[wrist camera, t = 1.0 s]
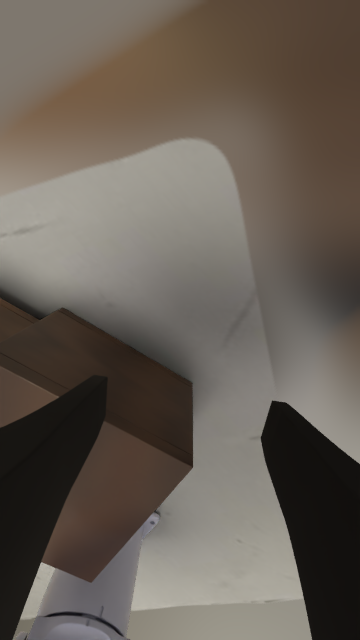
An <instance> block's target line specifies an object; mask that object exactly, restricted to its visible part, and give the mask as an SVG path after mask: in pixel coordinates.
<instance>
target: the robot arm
mask: <svg viewBox="0 0 360 640" xmlns="http://www.w3.org/2000/svg"><path fill="white" fill-rule="evenodd" d="M107 383H108V377H106V376H99V375H93V376H91V377H90V378H88V379H86V380H85V381H83V382H82V383H80V384H79V385H77V386H76V387H74V388H73V389H71V390H70V391H68V392H67V393H65V394H63V395H62V396H60V397H59V398H57V399H55V400H54V401H52V402H50V403H48V404H47V405H45V406H43V407H41V408H40V409H38V410H36V411H34V412H32V413H30V414H29V415H27V416H25V417H23V418H21V419H18V420H16V421H14V422H12V423H10V424H8V425H6V426H3V427H1V428H0V640H26V638H27V634H28V633H26V632H20V633H19V634H18V635H17V637H15V638H14V639H13V636H14V634H15V631H16V628H17V625H18V623H19V620H20V617H21V614H22V612H23V609H24V606H25V603H26V601H27V598H28V595H29V593H30V590H31V587H32V585H33V582H34V579H35V577H36V574H37V571H38V569H39V566H40V563H41V561H42V558H43V556H44V553H45V551H46V548H47V546H48V543H49V541H50V538H51V535H52V533H53V530H54V528H55V526H56V523H57V521H58V518H59V516H60V513H61V511H62V508H63V506H64V503H65V501H66V499H67V497H68V495H69V493H70V490H71V488H72V486H73V484H74V483H75V481H76V479H77V477H78V475H79V473H80V471H81V469H82V467H83V465H84V463H85V461H86V459H87V457H88V455H89V453H90V451H91V450H92V448H93V446H94V444H95V442H96V440H97V438H98V435H99V432H100V430H101V427H102V424H103V422H104V419H105V416H106V401H107ZM261 442H262V447H263V453H264V457H265V462H266V465H267V468H268V471H269V474H270V477H271V480H272V483H273V486H274V489H275V492H276V495H277V498H278V501H279V504H280V507H281V510H282V513H283V516H284V519H285V522H286V525H287V528H288V532H289V536H290V540H291V544H292V548H293V552H294V556H295V560H296V564H297V569H298V573H299V578H300V582H301V587H302V591H303V596H304V600H305V605H306V610H307V616H308V621H309V625H310V631H311V636H312V640H360V464H359V463H358V462H356V461H355V460H354V459H352V458H351V457H350V456H348V455H347V454H346V453H345V452H344V451H342V450H341V449H340V448H338V447H337V446H336V445H335V444H334V443H332V442H331V441H330V440H329V439H328V438H327V437H325V436H324V435H323V434H322V433H321V432H320V431H318V430H317V429H316V428H315V427H314V426H312V424H311V423H309V422H308V421H307V420H306V419H305V418H304V417H303V416H302V415H300V414H299V413H298V412H297V411H296V410H295V409H293V408H292V407H291V406H290V405H289V404H287V403H285V402H278V401H272V403H271V406H270V409H269V413H268V416H267V419H266V422H265V426H264V429H263V432H262V436H261ZM159 519H160V516H159V515H158V514H156V513H154V512H153V514H152V515H151V516H150V517H149V518H148V519H147V520H146V521H145V523H144V524H143V525H142V526H141V527H140V528H139V529H138V531H137V532H136V533H135V534H134V535H133V536H132V537H131V539H130V540H129V541H128V542H127V543H126V544H125V545H124V546H123V548H122V549H121V550H120V551H119V552H118V553H117V554H116V556H115V557H114V558H113V559H112V560H111V561H110V562H109V563H108V565H107V566H106V567H105V568H104V569H103V570H102V571H101V573H100V574H99V575H98V576H97V577H96V578H95V579H94V581H93V582H92V583H90V582H88V581H85V580H83V579H80V578H78V577H76V576H73V575H71V574H69V573H66V572H64V571H62V570H59V569H57V568H55V570H54V572H53V575H52V577H51V580H50V582H49V585H48V587H47V589H46V592H45V594H44V597H43V599H42V602H41V604H40V607H39V610H38V614H37V616H36V618H35V621H34V623H33V626H32V628H31V631H30V633H29V636H28V638H27V640H130V639H127V638H126V635H127V629H128V623H129V617H130V611H131V604H132V598H133V592H134V586H135V580H136V573H137V567H138V561H139V555H140V549H141V543H142V539H143V538H144V537H145V536H146V535H147V534H148V533H149V532H150V531H151V530H152V528H153V527H154V526H155V525H156V524H157V523H158V522H159Z"/></svg>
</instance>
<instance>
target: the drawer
mask: <svg viewBox="0 0 360 640" xmlns="http://www.w3.org/2000/svg"><path fill="white" fill-rule="evenodd" d="M37 321H39V320H38V319H36V318H35V317H33V316H31V315H29V314H28V313H26V312H24V311H22V310H20V309H19V308H17V307H15V306H13V305H12V304H10V303H8V302H6V301H5V300H3V299H1V298H0V342H2V341H4V340H6V339H7V338H9V337H11V336H13V335H14V334H16V333H18V332H20V331H21V330H23V329H25V328H27V327H29V326H30V325H32V324H34V323H36V322H37Z"/></svg>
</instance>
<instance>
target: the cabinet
mask: <svg viewBox="0 0 360 640" xmlns="http://www.w3.org/2000/svg"><path fill="white" fill-rule="evenodd" d="M93 375H99V376H106V377H108V383H107V401H106V416H105V419H104V422H103V424H102V427H101V430H100V432H99V435H98V438H97V440H96V442H95V444H94V446H93V448H92V450H91V451H90V453H89V455H88V457H87V459H86V461H85V463H84V465H83V467H82V469H81V471H80V473H79V475H78V477H77V479H76V481H75V483H74V484H73V486H72V488H71V490H70V493H69V495H68V497H67V499H66V501H65V503H64V506H63V508H62V511H61V513H60V516H59V518H58V521H57V523H56V526H55V528H54V530H53V533H52V535H51V538H50V541H49V543H48V546H47V548H46V551H45V553H44V556H43V558H42V561H41V562H43V563H45V564H47V565H50V566H52V567H55V568H57V569H59V570H62V571H64V572H66V573H69V574H71V575H73V576H76V577H78V578H80V579H83V580H85V581H88V582H90V583H92V582H93V581H94V579H95V578H96V577H97V576H98V575H99V574H100V573H101V571H102V570H103V569H104V568H105V567H106V566H107V565H108V563H109V562H110V561H111V560H112V559H113V558H114V557H115V556H116V554H117V553H118V552H119V551H120V550H121V549H122V548H123V546H124V545H125V544H126V543H127V542H128V541H129V540H130V539H131V537H132V536H133V535H134V534H135V533H136V532H137V531H138V529H139V528H140V527H141V526H142V525H143V524H144V523H145V521H146V520H147V519H148V518H149V517H150V516H151V515H152V514H153V512H154V511H155V510H156V509H157V508H158V507H159V506H160V504H161V503H162V502H163V501H164V500H165V499H166V498H167V497H168V495H169V494H170V493H171V492H172V491H173V490H174V489H175V487H176V486H177V485H178V484H179V483H180V482H181V481H182V480H183V478H184V477H185V476H186V475H187V474H188V473H189V472H190V470H191V469H192V468H193V390H192V382H190V381H188V380H186V379H185V378H183V377H181V376H179V375H178V374H176V373H174V372H173V371H171V370H169V369H167V368H166V367H164V366H162V365H161V364H159V363H157V362H155V361H154V360H152V359H150V358H148V357H147V356H145V355H143V354H142V353H140V352H138V351H136V350H135V349H133V348H131V347H130V346H128V345H126V344H124V343H123V342H121V341H119V340H117V339H116V338H114V337H112V336H111V335H109V334H107V333H105V332H104V331H102V330H100V329H99V328H97V327H95V326H93V325H92V324H90V323H88V322H86V321H85V320H83V319H81V318H80V317H78V316H76V315H74V314H73V313H71V312H69V311H68V310H66V309H64V308H61V309H59V310H57V311H55V312H53V313H51V314H50V315H48V316H46V317H44V318H43V319H41V320H39V321H37V322H36V323H34V324H32V325H30V326H29V327H27V328H25V329H23V330H21V331H20V332H18V333H16V334H14V335H13V336H11V337H9V338H7V339H6V340H4V341H2V342H0V428H1V427H3V426H6V425H8V424H10V423H12V422H14V421H16V420H18V419H21V418H23V417H25V416H27V415H29V414H30V413H32V412H34V411H36V410H38V409H40V408H41V407H43V406H45V405H47V404H48V403H50V402H52V401H54V400H55V399H57V398H59V397H60V396H62V395H63V394H65V393H67V392H68V391H70V390H71V389H73V388H74V387H76V386H77V385H79V384H80V383H82V382H83V381H85V380H86V379H88V378H90V377H91V376H93Z"/></svg>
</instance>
